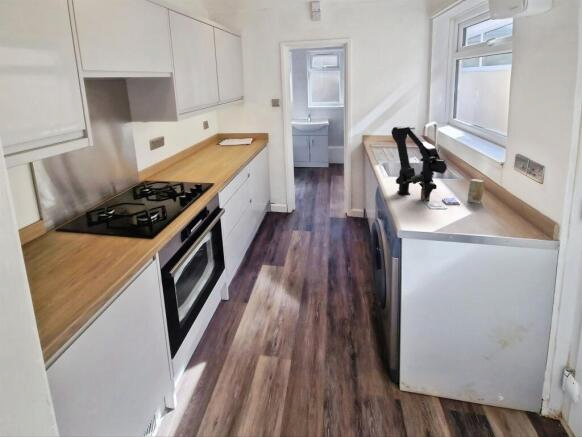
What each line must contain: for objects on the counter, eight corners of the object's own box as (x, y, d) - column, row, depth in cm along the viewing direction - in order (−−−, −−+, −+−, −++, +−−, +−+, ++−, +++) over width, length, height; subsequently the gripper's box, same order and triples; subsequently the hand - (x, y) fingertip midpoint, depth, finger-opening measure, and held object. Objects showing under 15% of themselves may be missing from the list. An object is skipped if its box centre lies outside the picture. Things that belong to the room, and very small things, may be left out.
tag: (423, 202, 229) (423, 201, 229) (440, 202, 228) (440, 201, 228) (429, 209, 218) (429, 208, 218) (447, 209, 217) (447, 208, 217)
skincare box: (466, 201, 229) (469, 179, 225) (469, 199, 232) (472, 178, 228) (478, 203, 225) (481, 181, 221) (481, 202, 228) (484, 180, 224)
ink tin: (441, 199, 233) (442, 197, 232) (454, 199, 232) (454, 197, 232) (446, 204, 224) (446, 202, 224) (460, 204, 224) (460, 202, 223)
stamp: (420, 199, 235) (421, 188, 233) (427, 199, 234) (428, 188, 232) (422, 201, 231) (423, 190, 229) (429, 201, 231) (430, 190, 229)
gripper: (408, 166, 236) (406, 193, 241) (416, 174, 219) (414, 202, 224) (428, 166, 236) (426, 193, 241) (438, 174, 218) (435, 202, 223)
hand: (425, 197), depth 232 cm, fingers closed on stamp, 4 cm apart
